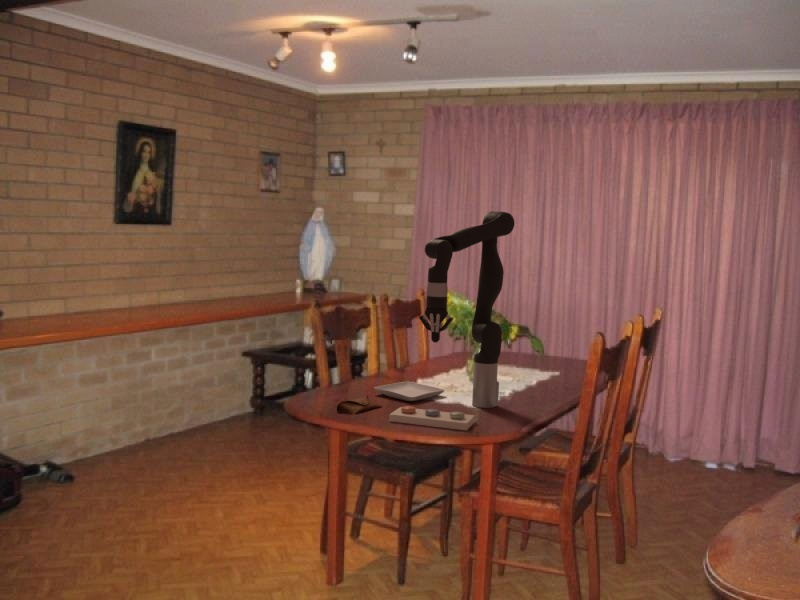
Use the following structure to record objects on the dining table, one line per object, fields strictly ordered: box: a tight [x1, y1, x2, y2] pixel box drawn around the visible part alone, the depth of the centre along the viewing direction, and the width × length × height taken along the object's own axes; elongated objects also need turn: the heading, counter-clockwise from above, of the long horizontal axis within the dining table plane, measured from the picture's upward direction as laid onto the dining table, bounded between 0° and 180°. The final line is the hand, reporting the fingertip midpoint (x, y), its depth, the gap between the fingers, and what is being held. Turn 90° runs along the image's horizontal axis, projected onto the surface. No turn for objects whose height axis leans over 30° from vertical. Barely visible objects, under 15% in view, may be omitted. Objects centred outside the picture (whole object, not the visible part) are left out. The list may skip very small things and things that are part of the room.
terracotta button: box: [400, 405, 417, 414], centre depth 281 cm, size 5×5×4 cm
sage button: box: [449, 411, 466, 420], centre depth 276 cm, size 5×5×4 cm
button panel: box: [388, 406, 476, 431], centre depth 279 cm, size 28×12×2 cm, turn 71°
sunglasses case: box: [336, 395, 383, 416], centre depth 294 cm, size 18×7×7 cm
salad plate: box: [373, 381, 446, 402], centre depth 319 cm, size 21×21×3 cm
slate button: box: [424, 408, 441, 417], centre depth 279 cm, size 5×5×4 cm
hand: (435, 342), depth 286 cm, fingers closed
